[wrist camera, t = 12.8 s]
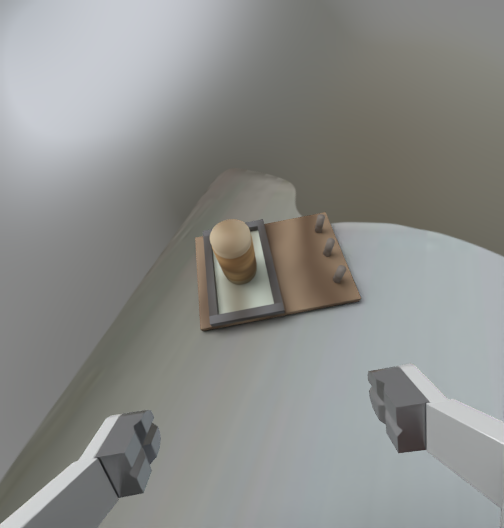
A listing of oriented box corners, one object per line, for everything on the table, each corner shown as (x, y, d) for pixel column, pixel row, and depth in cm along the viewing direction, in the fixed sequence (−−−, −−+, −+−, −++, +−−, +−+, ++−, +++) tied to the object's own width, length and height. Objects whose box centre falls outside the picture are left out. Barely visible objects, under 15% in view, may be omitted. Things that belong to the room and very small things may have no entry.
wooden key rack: (324, 216, 37) (328, 197, 34) (358, 301, 30) (369, 288, 27) (197, 241, 37) (188, 225, 34) (202, 331, 30) (192, 322, 27)
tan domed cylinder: (254, 252, 34) (247, 215, 27) (260, 281, 32) (254, 249, 25) (222, 258, 34) (207, 222, 27) (225, 288, 32) (210, 257, 25)
